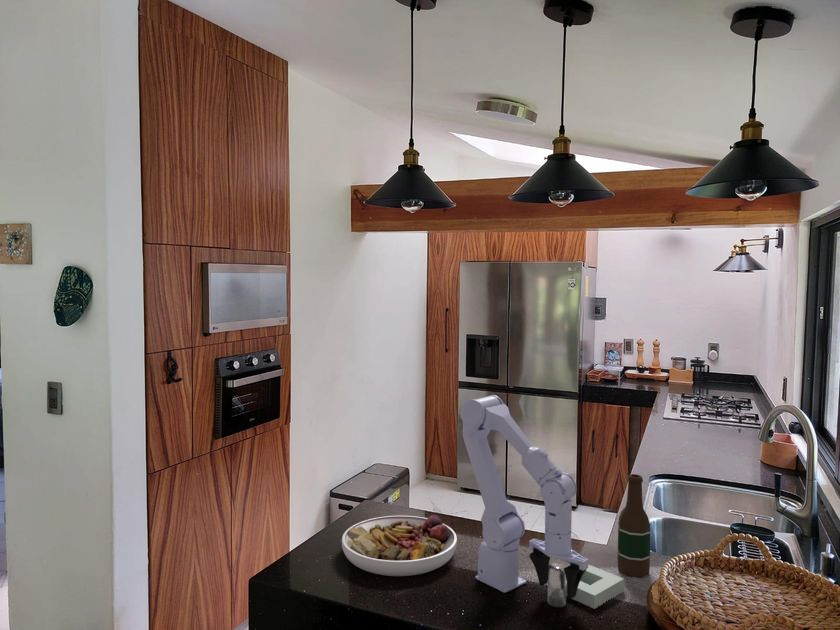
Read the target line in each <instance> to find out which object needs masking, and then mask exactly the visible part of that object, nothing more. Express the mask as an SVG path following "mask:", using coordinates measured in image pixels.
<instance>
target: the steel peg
mask: <svg viewBox="0 0 840 630" xmlns="http://www.w3.org/2000/svg"><path fill="white" fill-rule="evenodd" d="M566 567H567V566H566V565H564V564H562V563H559V562H556V563H555V562H553V563H549V565H548V582H547V603H548V605H550V607H554V608H563V607H565V606H566V605H567V596H566V575H565V571H564V568H566Z"/></svg>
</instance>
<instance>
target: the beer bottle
mask: <svg viewBox="0 0 840 630" xmlns="http://www.w3.org/2000/svg"><path fill="white" fill-rule="evenodd" d="M626 478H627V482H628V484H627V495H626V502H625V506H624V508H623V509H622V510H621V511H620V514H619V516H618V522H617V523H618V524H617V569H618V572H619V573H620V574H622V575H624V576H627V577H629V578H634V577H636V579H643V578H645V577H647V576H649V575H650V569H651V568H650V567H651V566H650V564H651V563H650V561H651V558H650V557H651V523H650V520H649V515H648V514H647V512H646V511H645V509H644V503H643V482H644V479H643V476H642V475H639V474H636V473H635V474H634V473H632V474H628V475H627V477H626Z"/></svg>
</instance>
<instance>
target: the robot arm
mask: <svg viewBox="0 0 840 630" xmlns="http://www.w3.org/2000/svg"><path fill="white" fill-rule="evenodd" d="M459 416H460V418H461V421H462V437H463V441H464V445H465V447H466V451H467V454H468V458H469V460H470V464H471V467H472V471H473V473H474V476H475V479H476V482H477V483H476V484H477V486H478V489H479V492H480V495H481V498H482V499H481V500H482V502H483V505H484V510H483V512H482V515H481V517H480V522H481V524H482V533H481V534H482V538H483V541H482V542H481V544H480V545H479V548H478V553H477V575H475V579H476V580H477V581H480V582H482V583H484V584H486V585H487V586H490V587H492V588H494V589H497V590H499V591H500V592H502V593H507V592H510V591H512V590H514V589H516V588H518V587H520V586H522V585H524V584H527V580H526V579H524V578H522V577H520V576H519V575H520V574H519V570H520V566H519V564H520V559H519V558H520V542H521V538H522V537H523V536H524V534H525V532H526V526H525V525H526V524H525V521H524V519H523V518H522V517H521V516H520V514H519V513H518V511H517V507H516V505H514V504H513V503H511V502H509V501H508V500H507V497H506V493H505V491H504V487H503V484H502V481H501V477H500V474H499V471H498V468H497V465H496V462H495V459H494V456H493V453H492V450H491V447H490V445H489V444H490V443H489V441H488V435H489V433H491V432H490V431H497V432H499V433H500V434H501V436H503V438H504V439H506V441H507V442H508V443H509V445H511V446H512V447H513V448H514V450H515V451H516V452H517V453H518V454H519V455H520V456H521V465H522V467H523V468H524V469H525V470H526V471H527V472H528V473H527V474H529V475H530V476H531V478H532V479H533V480H534V482H536V484H537V485H538V486H539V487H540V489H539V492H540V497H541V498H542V500H543V502H544V540H541V539H537V538H532V539H530V540H529V541H528V543H529V544H528V545H529V546H528V548H529V550H532V552H530V553H529V558H530V561H531V563H532V564H533V566H534V569H535V572H536V575H537V579H538V584H539V586H541V587H542V586H544V585H546V584H547V585H548V565H550V559H555V560H560V561H562V562H564V563H567V564H569V565H567V566H566V568H564V571H565V575H566V580H567V596H568V597H567V596H566V597H567V598H568V599H569V600H572V598H573V597H575V596H576V592H577V588H578V585H579V582H580V580H581V578H582V576H583V574H584V572H585V571H586V569H587V568H588V565H589V558H586V557H584V556H582V555H581V554H580V553H578V552H576V550H573V549H572V520H573V519H572V515H573V514H572V512H573V511H572V507H573V505H572V504H573V500H572V498H573V497H574V496H575V495H576V493H577V483H576V481H575V480H574V478H573V476H572V475H570V473H566V472H563V471H562V470H561V469H560V468H558V466H556V465H555V463H554V462H553V461H552V459H551V458H550V457H549V453H548V452H547V451H546V450H543V448H541V447H536V446H533V444H532V443H531V442H530V440H529V439H528V437H527V436H526V435H525V433H524V432H523V430H522V429H521V428H520V427H519V425H518V424H517V423H516V421H515V420H514V418H513V417H512V416H511V413H510V411H509V407H508V406H507V405H506V404H505V403H504V401H503V400H502V399H501V398H500V397H499V396H497V395H495V394H489V395H487V396H485V397H480V398H475V399H474V398H472V399H469V400H467V401H466V402H465V403H464V404H463V406H462V407H461V410H460V412H459Z"/></svg>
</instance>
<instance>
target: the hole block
mask: <svg viewBox="0 0 840 630" xmlns="http://www.w3.org/2000/svg"><path fill="white" fill-rule="evenodd" d="M584 582H585V583H584ZM589 584H590V585H589ZM623 591H625V578H624V577H621V576H619V575H616V574H614V573H611V572H609V571H605V570H603V569H601V568H598V567H596V566H594V565H590V564H588V568H587V569H586V571H585V572H584V574H583V576H582V578H581V580H580V582H579V585H578V588H577V592H576V596H575V597H573V598H571V600H573V601H576V602H578V603H581V604H583V605H585V606H587V607H590V609H594V610H595V609H597V608H598V606H599V607H600V606H602V605H603V603H604V604H605V603H607V602H608V600H609V599H610V600H612V599H613V598H612V597H614V596H615V597H617V596H618V595H617V594H619V593H621V592H622V593H623ZM622 593H621V594H622ZM616 595H617V596H616ZM619 595H620V594H619ZM566 597H567V580H566ZM615 597H614V598H615ZM611 598H612V599H611ZM610 600H609V601H610ZM606 601H607V602H606Z"/></svg>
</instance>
